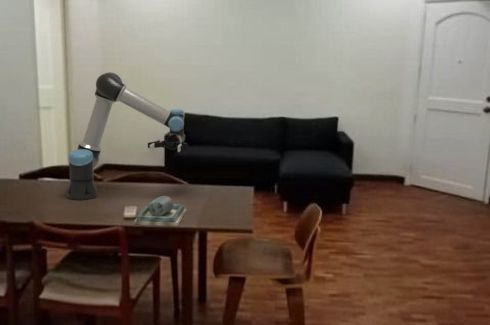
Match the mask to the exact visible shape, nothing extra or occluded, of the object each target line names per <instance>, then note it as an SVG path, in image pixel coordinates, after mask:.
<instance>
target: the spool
mask: <svg viewBox="0 0 490 325" xmlns="http://www.w3.org/2000/svg"><path fill="white" fill-rule="evenodd" d="M148 204H149V212H150V213H151V214H152V216H159V217H161V216H162V215H164V214H166V213H168V212H170V211H171V210H172V209H173V205H174V203H173V199H171V197H170V196H168V195H162V196H158V197H156V198H155V199H153V200H151V202H150V203H148Z"/></svg>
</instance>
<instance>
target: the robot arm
mask: <svg viewBox="0 0 490 325" xmlns="http://www.w3.org/2000/svg"><path fill="white" fill-rule="evenodd" d="M95 88H96V89H95V92H94V96H95V102H94V104H93V109H92V111H91V115H90V118H89V121H88V124H87V127H86V131H85V134H84V137H83V140H82V141H81V142H79V143H78V146H77V149H76V150H72V151H70V152H69V155H68V164H69V167H68V168H69V184H68V188H67V192H66V198H67V199H70V200H74V201H75V200H76V201H79V200H83V201H84V200H92V199H94V198H97V197H98V196H99V194H98V193H99V192H98V188H97V186H96V184H95V182H94V180H95V179H94V168H95V167H96V166H97V165H98V164H99V161H100V159H99V158H100V154H101V151H102V150H101V149H102V148H101V146H100V144H101V141H102V138H103V135H104V132H105V128H106V126H107V122H108V119H109V117H110V116H109V115H110V113H111V110H112V107H113V105H114V104H115V103H117V102H118V103H119V102H120V103H122V104H123V105H126V106H128V107H129V108H132V109H134V110H135V111H137V112H139V113H141V114H143V115H145V116H147V117H148V118H150V119H152V120H154V121H155V122H158V123H160V124H162V126H165V127H167V128H169V135H168V136H167V137H166V138H165V139H164V140H160V139H159V140H156V141H150V142H147V148H148V149H149V152H152V151H154V150H155V149H157V148H158V149H159V148H162V149H165V148H167V149H168V150H171V151H174V150H176V149H177V153H180V152H181V151H182V150H189V144H188V143H187V142H185V141H186V134H185V131H184V130H185V129H184V126H185V113H184V110H183V109H178V108H177V109H174V108H173V109H170V110H167V109H166V108H164V107H162V106H161V105H159V104H157V103H155V102H153V101H151V100H149V99H147V98H146V97H144V96H142V95H140V94H139V93H137V92H135V91H133V90H131V89H129V88H128V87H127V85H126V84H124V83H123V81H122V78H121V77H120V76H119V75H118V74H116V73H115V72H112V71H111V72H110V71H109V72H105V73H102V74H101V75H99V76H98V77H97V79H96V81H95Z"/></svg>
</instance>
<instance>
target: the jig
mask: <svg viewBox="0 0 490 325" xmlns="http://www.w3.org/2000/svg"><path fill="white" fill-rule="evenodd" d="M149 204H150V203H147V204H146V205H145V206H144V208H142V210H141V211H140V212H139V213H138V214H137V216H136V219H134V221H133V225H134V224H138V226H139V225H140V226H160V227H161V226H162V227H178V226H179V225H180V223H181V221H182V219H183V218H184V216H185V214H186V213H187V208H185V205H184V204H173V209H172V210H171V211H170V212H168V213H166V214H164V215H162V216H161V217H159V216H152V214H151V213H150V212H149Z"/></svg>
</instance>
